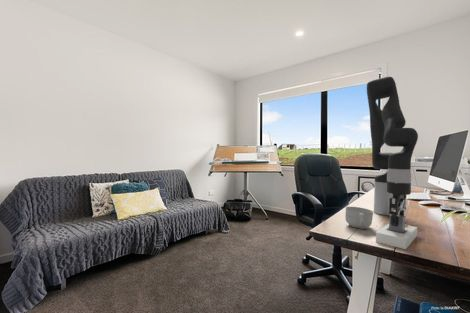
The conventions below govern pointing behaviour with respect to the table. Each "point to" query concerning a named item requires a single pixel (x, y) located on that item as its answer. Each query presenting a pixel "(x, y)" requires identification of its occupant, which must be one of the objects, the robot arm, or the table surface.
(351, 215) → the teacup
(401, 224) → the charger
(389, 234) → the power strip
